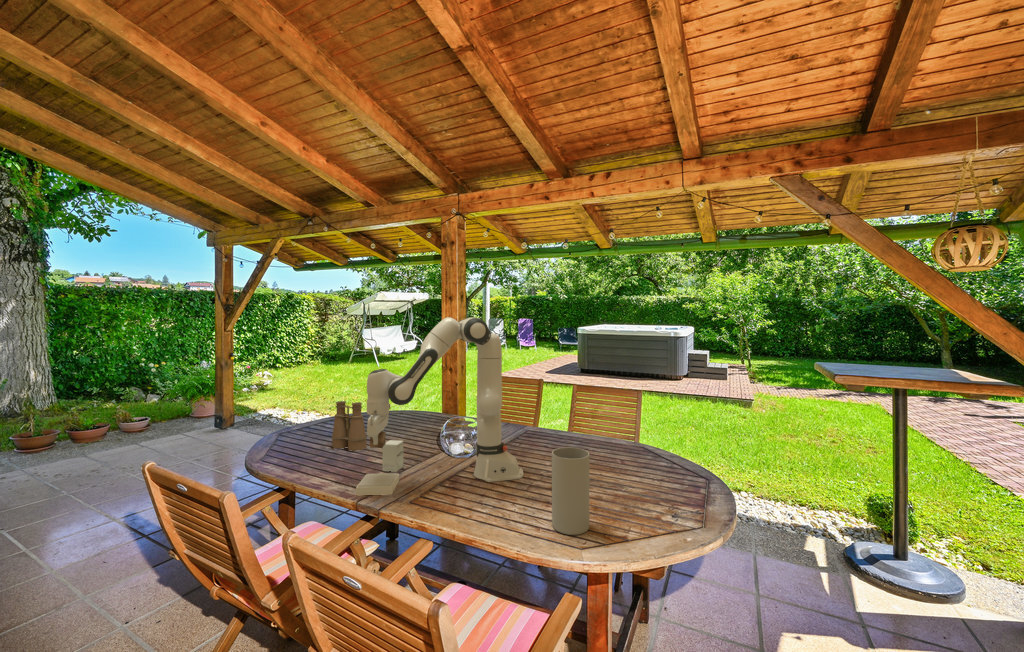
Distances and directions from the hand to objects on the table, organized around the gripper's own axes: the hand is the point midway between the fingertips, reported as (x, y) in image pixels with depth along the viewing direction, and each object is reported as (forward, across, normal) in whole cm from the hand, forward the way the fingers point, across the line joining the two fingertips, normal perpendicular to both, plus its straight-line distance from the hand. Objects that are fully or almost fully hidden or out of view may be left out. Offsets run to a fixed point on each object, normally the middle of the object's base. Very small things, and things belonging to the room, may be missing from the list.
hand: (378, 441), depth 174 cm
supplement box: (+20, +23, -1) cm, 30 cm away
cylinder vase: (+19, -37, -73) cm, 84 cm away
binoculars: (+20, +57, +30) cm, 67 cm away
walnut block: (+2, 0, 0) cm, 2 cm away
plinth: (+20, 0, 0) cm, 20 cm away
